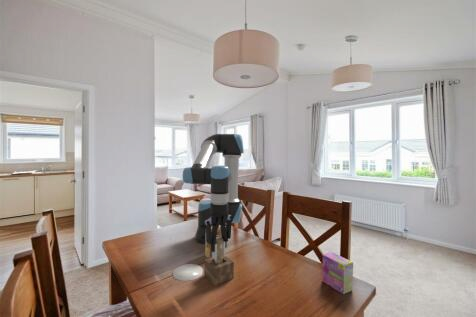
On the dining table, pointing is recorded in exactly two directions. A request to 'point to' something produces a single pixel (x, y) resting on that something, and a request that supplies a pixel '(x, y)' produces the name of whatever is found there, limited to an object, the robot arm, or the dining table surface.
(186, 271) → the white plate
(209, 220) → the robot arm
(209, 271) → the pen pot
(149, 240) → the dining table surface
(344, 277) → the box
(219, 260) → the dowel
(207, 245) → the candy box
